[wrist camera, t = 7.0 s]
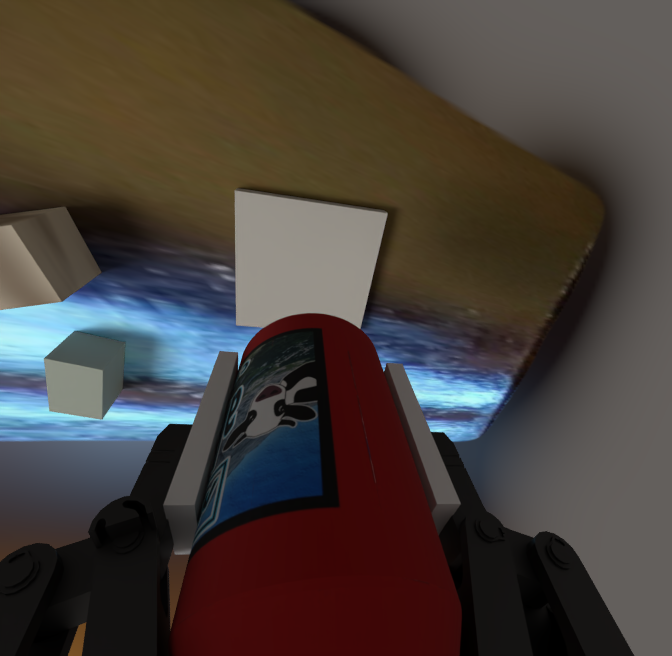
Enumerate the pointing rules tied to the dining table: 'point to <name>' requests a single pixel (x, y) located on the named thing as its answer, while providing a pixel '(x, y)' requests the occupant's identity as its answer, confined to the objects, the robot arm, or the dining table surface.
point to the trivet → (303, 257)
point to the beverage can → (315, 513)
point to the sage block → (85, 375)
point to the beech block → (42, 258)
